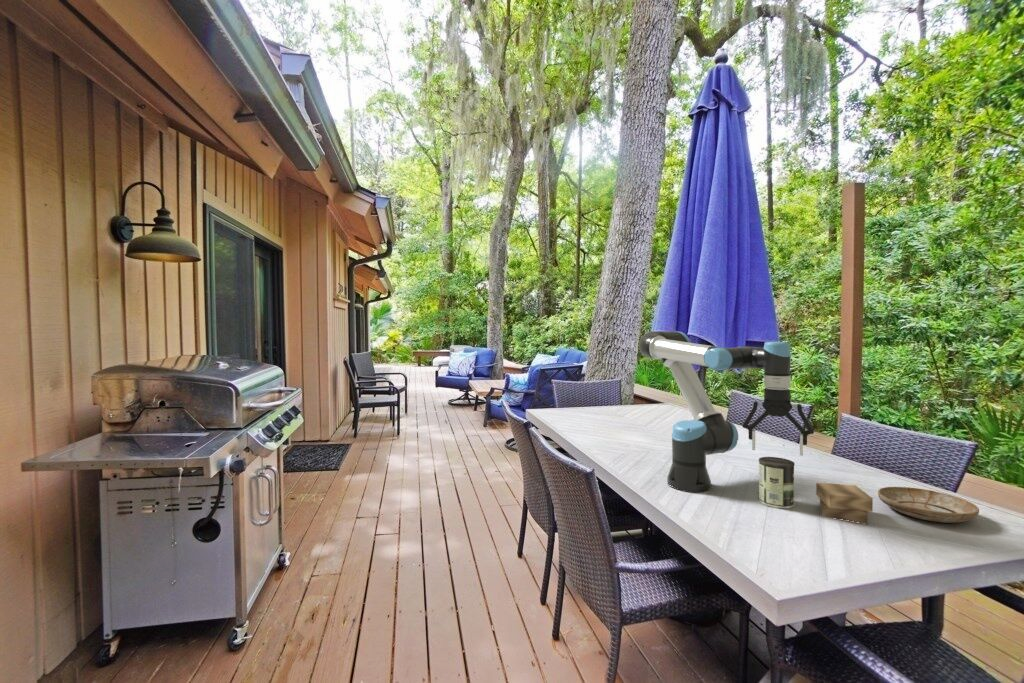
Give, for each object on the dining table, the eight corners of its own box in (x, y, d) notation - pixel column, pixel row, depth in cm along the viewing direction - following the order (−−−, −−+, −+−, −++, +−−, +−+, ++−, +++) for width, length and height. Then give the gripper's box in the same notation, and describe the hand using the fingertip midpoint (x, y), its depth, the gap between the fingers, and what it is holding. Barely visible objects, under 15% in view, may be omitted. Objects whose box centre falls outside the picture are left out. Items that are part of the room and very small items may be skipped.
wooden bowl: (977, 513, 140) (977, 497, 140) (980, 538, 123) (980, 521, 123) (881, 494, 157) (882, 480, 156) (872, 514, 140) (873, 499, 140)
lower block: (822, 518, 138) (822, 505, 138) (819, 505, 148) (820, 493, 148) (867, 526, 133) (867, 512, 133) (861, 512, 142) (862, 500, 142)
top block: (829, 507, 137) (829, 494, 136) (816, 494, 147) (816, 482, 147) (872, 511, 133) (872, 498, 133) (855, 497, 144) (855, 485, 144)
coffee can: (786, 498, 154) (787, 457, 153) (799, 509, 144) (800, 466, 143) (754, 496, 156) (754, 455, 155) (764, 507, 146) (764, 464, 145)
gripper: (734, 387, 152) (734, 449, 152) (823, 391, 139) (823, 459, 139) (736, 385, 158) (736, 444, 159) (821, 389, 145) (821, 454, 146)
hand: (776, 452), depth 149 cm, fingers open, 13 cm apart
